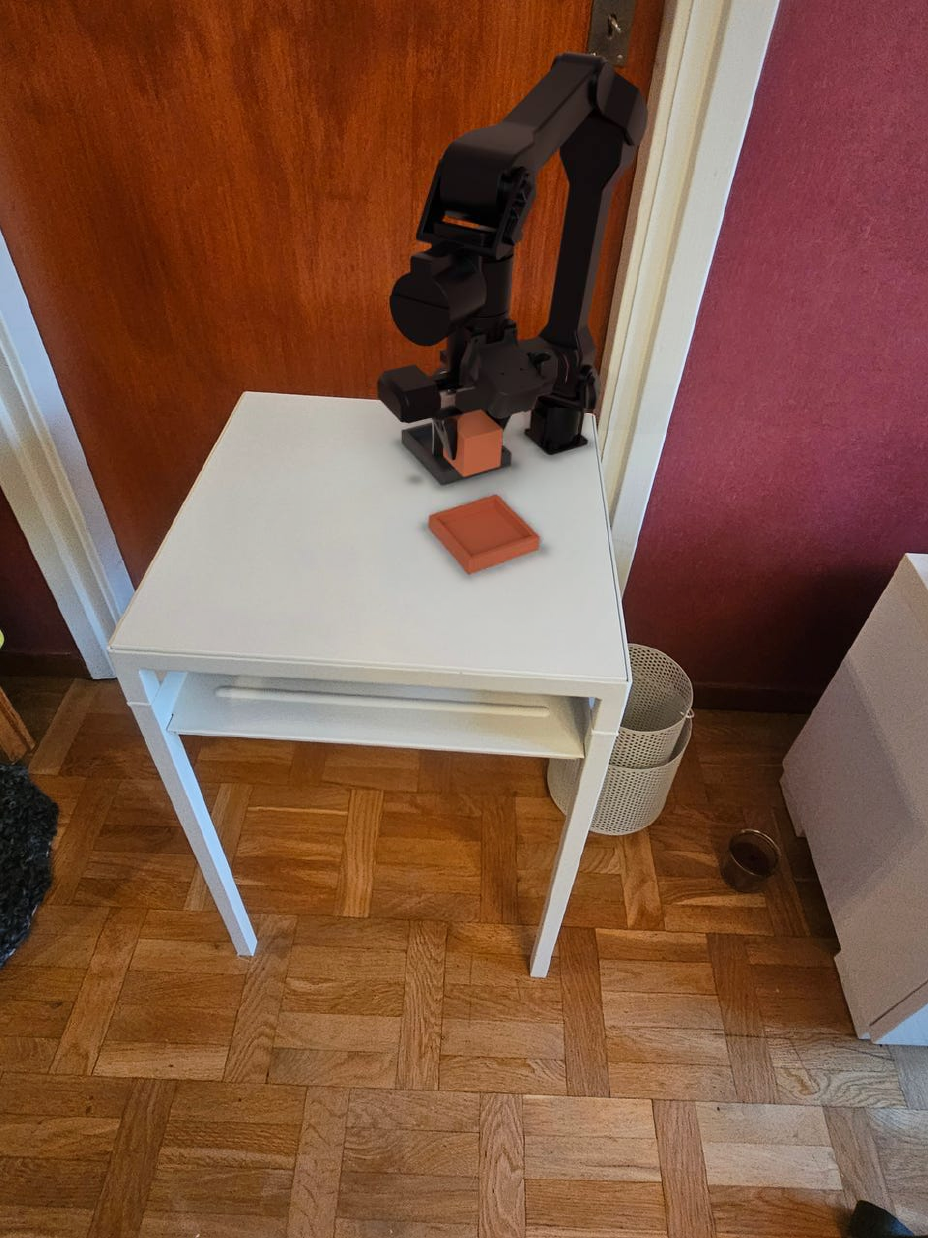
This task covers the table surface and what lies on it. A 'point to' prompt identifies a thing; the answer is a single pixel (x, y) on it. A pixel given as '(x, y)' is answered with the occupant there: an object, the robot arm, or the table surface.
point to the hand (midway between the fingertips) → (471, 452)
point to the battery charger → (464, 402)
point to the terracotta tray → (483, 533)
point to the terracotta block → (476, 444)
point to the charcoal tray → (439, 466)
